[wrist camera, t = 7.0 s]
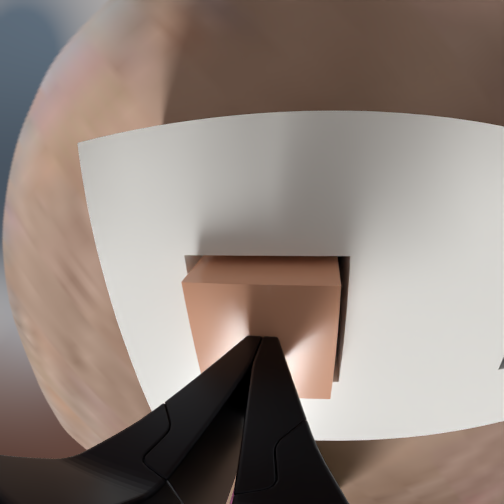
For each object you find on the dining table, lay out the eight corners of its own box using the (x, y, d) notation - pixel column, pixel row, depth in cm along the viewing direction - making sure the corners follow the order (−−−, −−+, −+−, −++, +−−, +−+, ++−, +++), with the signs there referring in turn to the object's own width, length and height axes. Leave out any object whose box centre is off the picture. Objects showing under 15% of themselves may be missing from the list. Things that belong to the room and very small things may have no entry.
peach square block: (331, 218, 12) (341, 285, 7) (329, 305, 14) (330, 399, 9) (232, 219, 13) (181, 281, 8) (241, 303, 15) (204, 389, 10)
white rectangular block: (573, 148, 9) (646, 173, 4) (533, 337, 14) (572, 398, 8) (161, 130, 14) (77, 142, 8) (195, 344, 18) (155, 419, 13)
